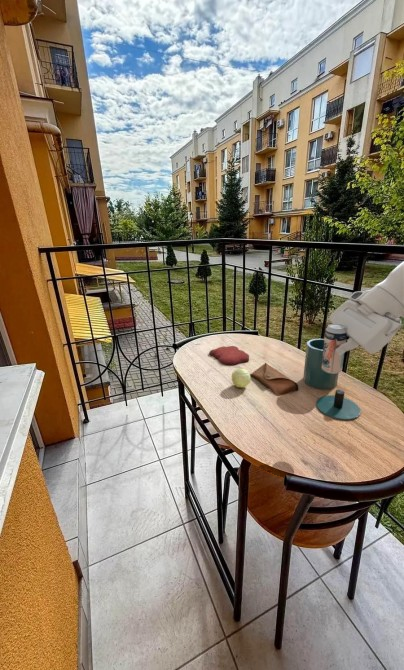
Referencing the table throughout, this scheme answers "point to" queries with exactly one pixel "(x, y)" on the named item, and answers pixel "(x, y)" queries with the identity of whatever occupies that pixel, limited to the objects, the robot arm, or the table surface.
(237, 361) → the red cloth
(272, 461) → the table surface
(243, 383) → the tennis ball
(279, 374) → the sunglasses case
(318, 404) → the lid
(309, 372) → the tin
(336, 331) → the beer can
